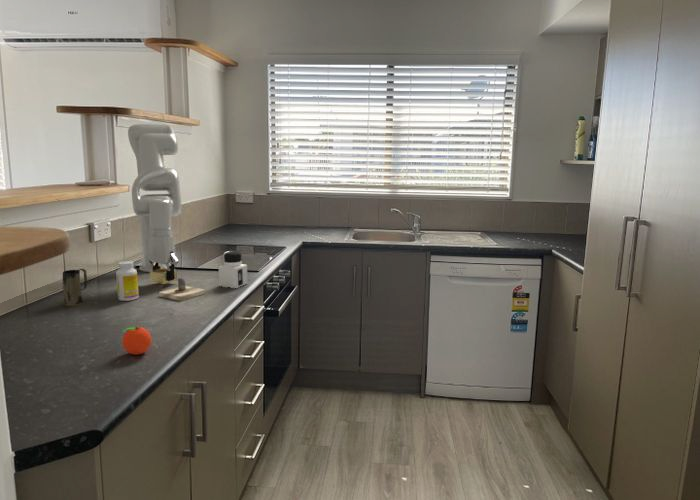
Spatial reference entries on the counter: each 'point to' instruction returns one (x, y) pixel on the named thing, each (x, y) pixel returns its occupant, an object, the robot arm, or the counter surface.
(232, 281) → the container
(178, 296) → the post stand
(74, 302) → the mug
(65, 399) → the counter surface
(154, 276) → the collar
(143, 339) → the clementine
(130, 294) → the supplement bottle
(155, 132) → the robot arm
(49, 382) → the counter surface
